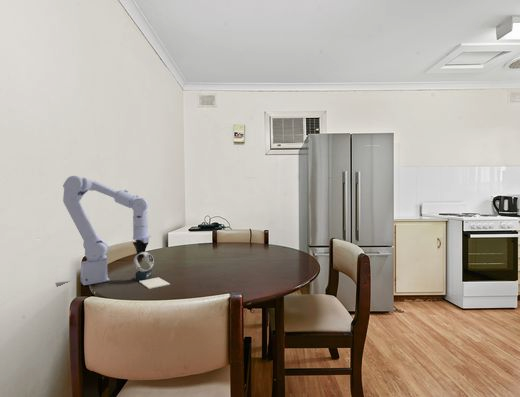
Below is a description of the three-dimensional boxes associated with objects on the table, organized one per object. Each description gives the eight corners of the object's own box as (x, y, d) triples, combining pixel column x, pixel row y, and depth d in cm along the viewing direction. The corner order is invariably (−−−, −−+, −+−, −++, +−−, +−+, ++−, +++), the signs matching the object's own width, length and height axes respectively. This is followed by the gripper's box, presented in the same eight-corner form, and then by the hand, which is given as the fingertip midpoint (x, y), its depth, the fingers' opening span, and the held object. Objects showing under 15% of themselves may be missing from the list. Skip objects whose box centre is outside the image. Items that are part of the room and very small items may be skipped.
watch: (150, 281, 114) (150, 255, 114) (131, 280, 115) (131, 254, 114) (155, 276, 120) (156, 251, 119) (137, 275, 120) (137, 250, 119)
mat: (149, 289, 104) (149, 287, 104) (139, 282, 113) (139, 281, 113) (169, 284, 109) (169, 283, 109) (158, 278, 118) (158, 277, 118)
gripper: (155, 226, 116) (156, 259, 116) (144, 224, 127) (144, 254, 127) (138, 228, 112) (138, 261, 112) (128, 225, 123) (128, 256, 123)
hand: (141, 258), depth 119 cm, fingers closed
